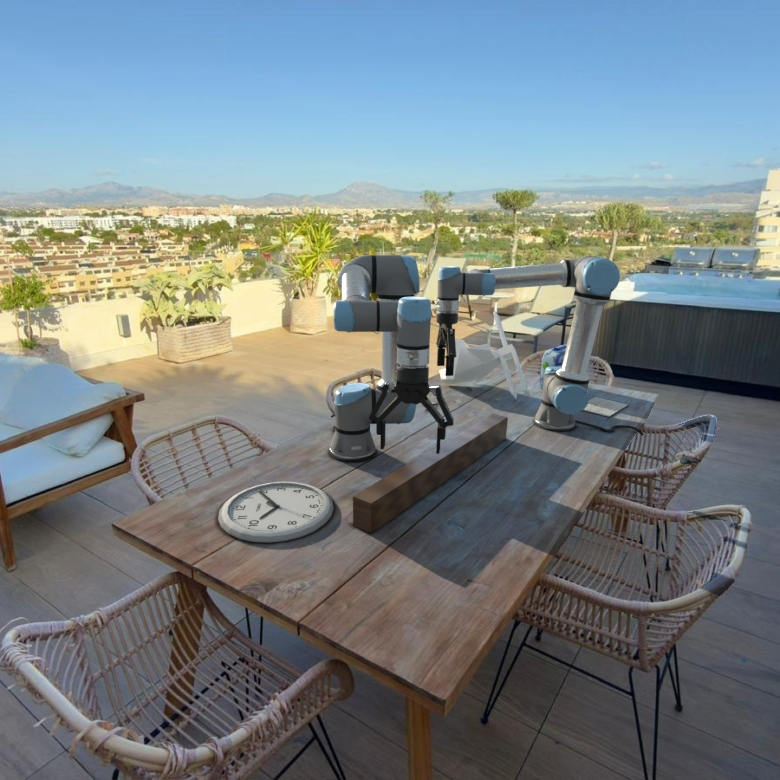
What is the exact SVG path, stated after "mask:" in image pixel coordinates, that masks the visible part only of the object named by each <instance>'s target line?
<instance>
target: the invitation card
mask: <svg viewBox="0 0 780 780" xmlns="http://www.w3.org/2000/svg"><path fill="white" fill-rule="evenodd" d="M628 406H629V404H627V403H623V402H618V401H614V400H609V399H605V398H601V397H596V396H593V397H592V398H589V401H588V404H587V406H586V407H585V408H584V409H583V410H582V411H584V412H587V413H593V414H596V415H600V416H604V417H608V418H609V417H611V416H613V415H614V414H616V413H617V412H619V411H621V410H623V409H624V408H626V407H628Z"/></svg>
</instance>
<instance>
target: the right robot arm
mask: <svg viewBox="0 0 780 780" xmlns="http://www.w3.org/2000/svg"><path fill="white" fill-rule="evenodd" d="M620 280H621V272H620V269H619V268H618V266H617V264H616V263H615V262H614V261H612V260H610V259H609V258H608V257H603V256H602V257H601V256H595V255H587V256H582V257H577V258H571V259H563V260H561V261H560V262H559V263H558V262H557V263H545V264H534V265H532V264H531V265H520V266H511V267H510V266H509V267H497V268H485V269H483V268H482V269H478V268H474V269H471V270H469V271H467V272H462V271H461V267H460V266H458V265H457V266H456V265H455V266H454V265H444V266H443V265H442V266H440V267H439V268H438V274H437V296H436V297H437V299H436V300H437V301H436V302H435V306H436V311H437V312H436V316H435V317H436V320H435V321H436V323H437V324H438V331H437V337H436V342H435V343H436V347H437V353H436V355H437V356H436V366H437V367H445V368H446V371H445V376H453V373H454V358H455V357H456V345H455V339H456V329H455V328H453V325H456V324H458V323H459V313H458V311H460V309H459V308H460V296H482V297H486V296H493V295H494V294H495V291H496V290H505V289H519V288H533V287H548V286H561V287H562V288H574V292H573V297H574V298H575V300H576V304H575V308H574V313H573V317H572V321H571V326H570V330H569V335H568V337H567V342H566V344H567V346H566V351H565V355H564V359H563V364H562V367H556V366H554V367H547V368H546V369H545V373H544V382H543V390H542V394H541V402H540V405H539V407H538V410H537V411H536V413H535V416H534V424H535V425H536V426H537V427H539V428H542V429H544V430H549V431H556V432H567V431H572V430H574V429H575V428H576V424H578V425H582V426H586V427H590V428H594V429H597V430H600V431H602V432H605V433H612V432H614V431H615V429H630V430H634V431H635V432H637V433H638V434H640V436H645V434H644V432H643V431H642V430H640V429H639V428H637V427H635V426H633V425H625V424H619V425H618V424H616V425H612V426H611V429H607V428H604V427H602V426H600V425H596V424H592V423H588V422H584V421H580V420H577V419H576V418H575V417H576V416H575V414H578V413H580V412H582V411H584V410H583V409H584V408H585V407H586V406H587V404H588V401H589V400H590V396H589V392H588V387H589V383H590V379H591V378H590V376H589V375H588V373H587V372H588V369H589V364H590V361H591V358H592V357H591V356H592V354H593V349H594V345H595V341H596V337H597V332H598V328H599V325H600V322H601V321H600V320H601V317H602V312H603V308H604V306H605V305H606V304H608V303H609V302H610V300H611V296H612V293H613V292H614V290H615V289H616V288H617V287H618V285H619V283H620Z"/></svg>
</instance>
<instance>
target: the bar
mask: <svg viewBox="0 0 780 780" xmlns="http://www.w3.org/2000/svg"><path fill="white" fill-rule="evenodd" d="M508 421H509V417H508V416H506V415H500V414H496V413H491V414H490V415H488V416H486V417H484V418H483V419H481V420H480V421H478V422H476V423H475V424H473V425H471V426H469V427H467V428H466V429H464V430H462V431H461V432H460V433H458V434H455V435H454V436H453V437H451V438H449V439H447V440H446V441H444V442H443V443H440V453H439V454H437V453H436V446H435V447H434V448H432V449H430V450H428V451H427V452H425V453H423V454H422V455H420V456H419V457H418V456H417V458H415V459H413V460H412V461H410V462H408V463H407V464H405V465H404V466H402V467H400V468H398V469H397V470H395V471H393V472H391V473H389V474H388V475H386V476H385V477H383V478H380V480H378V481H376V482H374V483H372V484H371V485H368V487H366V488H365V489H362V490H361V491H359V492H358V493H356V494H354V495H352V526H354V527H356V528H358V529H361V530H362V531H365V532H367V533H369V534H372V533H374V532H375V531H377V530H378V529H380V528H381V527H383V526H384V525H385V524H386V523H387V522H390V521H391V520H392V519H394V518H395V517H397V516H398V515H399V514H401V513H402V512H404V511H405V510H407V509H408V508H409V507H411V506H412V505H414V504H415V503H417V502H419V501H420V500H421V499H422V498H423V497H425V496H426V495H428V494H429V493H431V492H432V491H434V490H436V488H438V487H439V486H441V485H443V484H444V483H445V482H447V481H448V480H449V479H450V478H452V477H454V476H455V475H456V474H458V473H459V472H461V471H462V470H463V469H465V468H466V467H468V466H470V465H471V464H472V463H473V462H475V461H476V460H478V459H480V458H481V457H482V456H484V455H485V454H486V453H488V452H490V450H492V449H494V448H495V447H496V446H498V445H499V444H501V443H502V442H504V441H505V440H506V439H507V430H508Z"/></svg>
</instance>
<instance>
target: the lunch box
mask: <svg viewBox="0 0 780 780" xmlns="http://www.w3.org/2000/svg"><path fill="white" fill-rule="evenodd" d="M566 346H567V343H566V344H562V345H558V346H554V347H552V348H549V349H546V351H545V352H544V353H543V354H542V358H541V363H540V373H539V374H540V375H539V377H540V378H539V389H540V390H542V391H543V382H544V373H545V369H546V368H547V367H554V366H556V367H562V364H563V359H564V355H565V351H566Z"/></svg>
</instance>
